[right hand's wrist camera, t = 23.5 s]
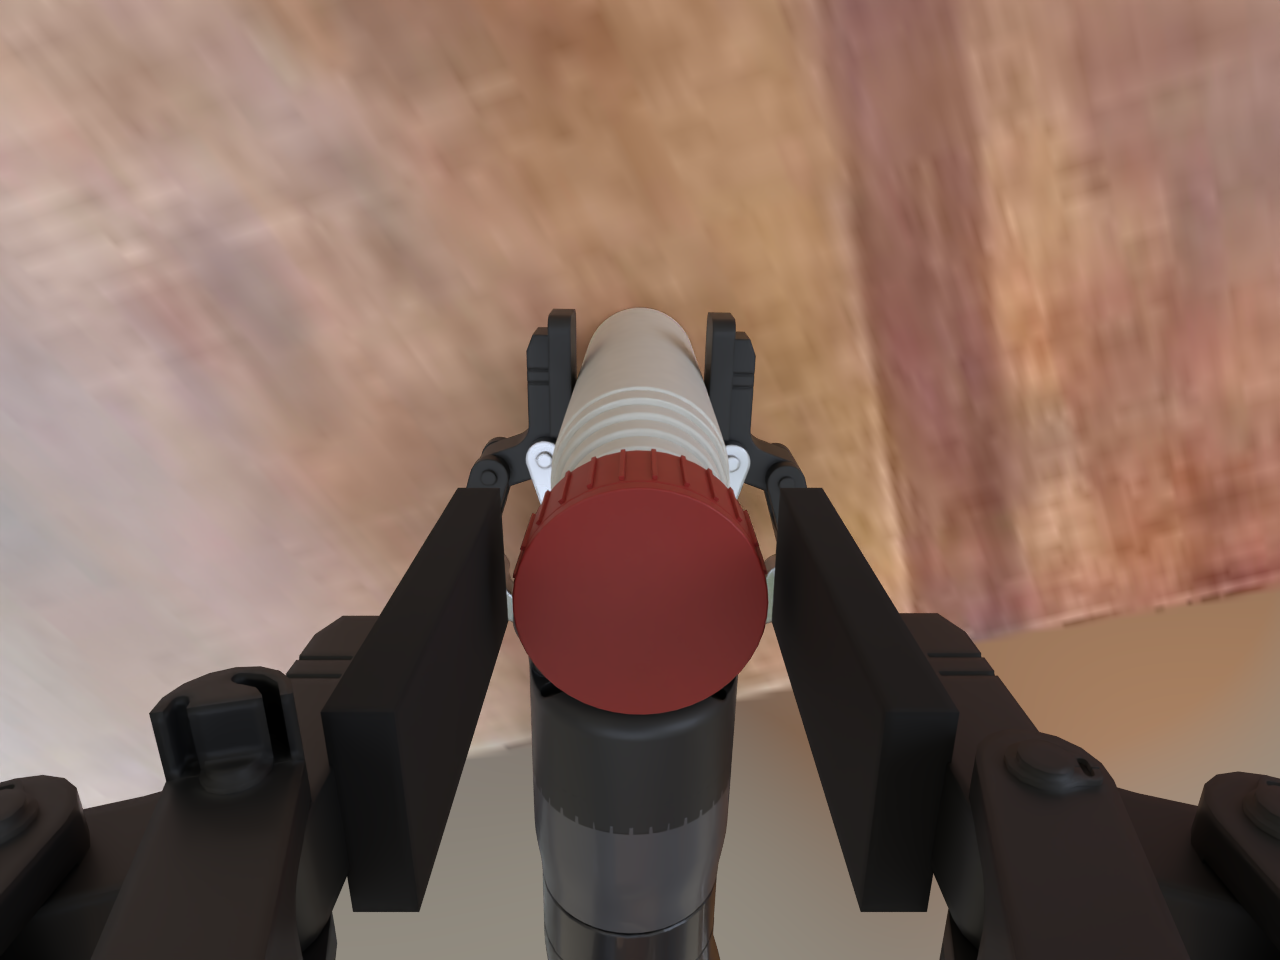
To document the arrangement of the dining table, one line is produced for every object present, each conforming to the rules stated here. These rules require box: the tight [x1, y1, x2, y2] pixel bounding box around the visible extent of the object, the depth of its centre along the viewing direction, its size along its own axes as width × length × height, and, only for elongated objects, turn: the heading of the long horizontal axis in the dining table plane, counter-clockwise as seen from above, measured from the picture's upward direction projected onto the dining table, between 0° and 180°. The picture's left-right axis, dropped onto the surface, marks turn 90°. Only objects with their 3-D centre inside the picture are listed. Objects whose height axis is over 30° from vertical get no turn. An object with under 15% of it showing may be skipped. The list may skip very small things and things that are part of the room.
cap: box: [512, 449, 769, 715], centre depth 14 cm, size 4×4×2 cm
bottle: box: [551, 308, 730, 490], centre depth 23 cm, size 4×4×19 cm
